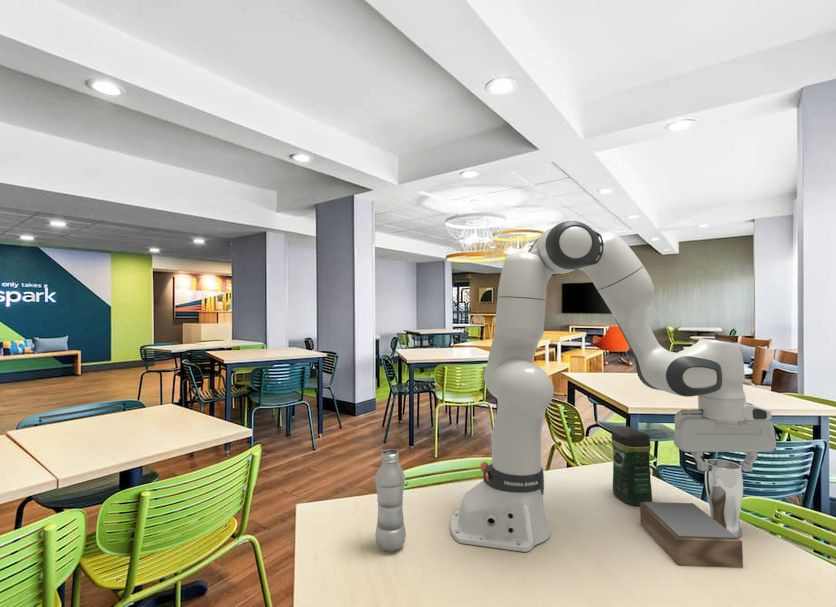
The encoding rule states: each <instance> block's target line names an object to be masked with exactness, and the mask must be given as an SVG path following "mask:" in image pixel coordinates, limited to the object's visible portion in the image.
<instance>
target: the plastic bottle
mask: <svg viewBox="0 0 836 607" xmlns="http://www.w3.org/2000/svg"><path fill="white" fill-rule="evenodd" d="M399 461H400V459H399V451H398V450H396V449H385V450H382V451H381V458H380V462H381V463H382V464H381V465H380V466H379V468H378V470H377V471H376V474H375V478H374V479H375V480H374V481H375V488H376V495H377V509H378V510H377V522H376V529H375V536H374V537H375V541H376V545H377V547H378V548H379V549H380V550H381V551H384V552H394V551H398V550H400V549H402V547H403V545H404V544H405V542H406V537H407V536H406V535H407V533H406V532H407V531H406V526H405V522H404V520H405V519H404V509H403V507H404V506H403V504H404V503H403V501H404V491H405V490H404V489H405V481H406V479H405V478H406V475H405V473H404V470H403V469H402V467H401V465H400V464H399Z"/></svg>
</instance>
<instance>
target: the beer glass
mask: <svg viewBox="0 0 836 607" xmlns="http://www.w3.org/2000/svg"><path fill="white" fill-rule="evenodd" d="M705 463H707V464H708V471H704V485H705V486H704V487H705V491H706V495H707V501H708V504H709V505H708V506H709V511H710V512H709V513H710V515H709V516H710V517H711V518H713V519H714V520H715V521H717V522H718V523H719V524H721V525H722V526H723V527H724V528H726V529H727V530H728V531H730V532H731V533H732V534H734V535H735V536H736V537H737V538H739V539H740V538H741V537H742V536H743V531H742V527H741V522H740V513H741V506H742V504H743V503H742V501H743V496H744V481H743V480H744V479H743V473H742V471H743V470H742V469H741V464H740V463H736V462H733V461H730V460H725V459H719V458H710V459H706V460H705Z"/></svg>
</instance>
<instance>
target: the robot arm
mask: <svg viewBox="0 0 836 607" xmlns="http://www.w3.org/2000/svg"><path fill="white" fill-rule="evenodd" d="M575 270H580V271H582V272H583V273H585V274H586V275H587V276H588V277H589V278H590V281H591V282H592V283H593V285H594V287H595V289H596V290H597V292H598V294H599V295H600V296H601V298H602V300H603V301H604V303H605V304H606V306H607V308H608V309H609V311H610V312H611V314H612V316H613V318H614V321H615V322H616V324H617V326H618V328H619V330H620V332H621V334H622V335H623V337H624V340H625V341H626V342H627V345H628V347H629V349H630V350H631V353H632V355H633V358H634V362H635V369H636V374H637V377H638V378H639V380H640V381H641V382H642V384H643V385H645V386H646V387H647V388H650V389H653V390H656V391H663V392H665V393H669V394H673V395H676V396H679V397H688V398H689V397H697V401H698V402H697V404H698V408H697V409H696V408H693V409H680V410H679V411H677V412H676V413H675V415H674V416H673V418H674V419H673V420H674V421H673V422H674V431H673V432H674V433H673V444H674V446H675V447H676V448H677V449H679V450H680V451H682V452H683V453H684V452H685V453H690V454H691V456H692V457H693V459H694V461H696V468H697V470H699V471H700V472H705V471H708V464H707V463H706V461H704V460H703V459H702V457H704V453H744V454H746V456H745V458H744V459H743V460H742V461H739V465H740V466H741V471H744V472H753V471H754V470H753V468H754V467H753V464H754V463H755V461H756V460H757V458H758V457H759V454H758V452H761V453H762V452H763V453H766V452H767V453H771V452H774V450H775V448H776V447H777V445H776V444H777V443H776V442H777V440H776V439H777V438H776V431H775V428H774V425H773V423H772V422H771V421H770V420H771V419H772V417H773V416H772V415H773V414H772V411H771V410H769V409H766V408H764V407H762V406H758V405H754V404H753V403H748V402H747V398H746V394H745V391H744V381H745V365H744V364H745V363H744V358H743V357H744V356H743V352H742V350H741V347H740V345H739V344H738V343H737V342H735V341H732V340H729V339H724V338H714V337H701V338H699V339H698V341H697V342H696V343H694V344H692V345H691V346H689V347H687V348H686V349H683V350H681V351H678V352H673V351H670V350H668V349H666V348H664V347H663V346H662V345H660V343H659V342H658V339H657V338H656V336H655V334H654V332H653V331H652V329H651V326H650V325H649V323H648V321H647V319H646V318H647V317H646V314H645V312H646V308H648V307H649V305H650V304H651V302H652V300H653V298H654V296H655V290H656V289H655V287H654V284H653V280H652V278H651V276H650V275H649V272H648V271H647V269H646V268H645V266H644V264H643V263H642V262H641V260H640V259H639V257H638V256H637V255H636V253H635V252H634V250H632V249H631V247H630V246H629V245H628V244H627V243H626V241H625V240H623V239H622V238H621V237H620V235H618V234H616V233H614V232H603V233H599V232H597V231H595V230H593V229H592V228H591V227H590V226H589V225H587V224H586V223H583V222H582V221H576V220H567V221H562V222H560V223H558V224H556V225H555V226H553V227H551V228H548V229H547V230H545V231H544V232H543V233H542V234H541V235H540V236H539V237H538V238H537V239H536V240H534V242H533V243H532V245H531V247H530V248H529V250H528V251H519V252H514V253H511V254H510V255H509V256H508V257H507V258H506V259H505V261H504V262H503V265H502V269H501V273H500V278H499V281H498V290H497V300H496V301H497V302H496V312H495V325H494V332H493V337H492V341H491V346H490V349H489V354H488V358H487V359H488V360H487V364H486V366H485V368H484V371H483V379H484V384H485V387H486V388H487V391H488V392H489V393H490V395H491V396H492V397H493V398H494V397H495V398H496V401H497V408H496V410H497V411H496V416H495V421H494V426H493V427H492V430H491V463H490V464H489V463H488V462H487V461H482V462H481V463H480V465H479V466H480V471H481V472H482V473H483V475H482V476H483V480H482V481H480V482H479V483H478V484H476V485H475V486H474V487H472V488H471V489H469V490H467V491H466V492H465V493H464V495H463V497H462V499H461V502H460V505H459V509H457V510H455V511H454V513H452V515H451V517H450V522H449V529H450V533H451V537H452V538H453V539H454V540H455V541H456V542H457V543H460V544H464V545H471V546H477V547H478V546H479V547H486V548H493V549H502V550H507V551H508V550H509V551H515V552H516V551H517V552H523V553H527V552H529V551H531V550H532V549H533V548H534V547H535V546H537V545H539V544H542V543H543V542H545V541H546V540H548V539H549V537H550V536H551V530H550V527H549V523H548V520H547V515H546V511H545V510H546V509H545V504H544V496H543V495H544V490H545V474H544V468H542V430H543V424H544V419H545V415H546V411H547V408H548V407H549V405H550V404H551V402H552V400H553V398H554V394H555V392H554V391H555V390H554V388H555V387H554V384H553V381H552V379H551V377H550V375H549V374H548V373H547V372H546V371H545V370H544V369H543V368H542V367H541V366H539V365H538V364H536V363H534V359H535V355H536V351H537V348H538V345H539V344H540V342H541V339H542V338H543V336H544V334H545V333H544V330H545V318H546V317H545V316H546V306H547V305H546V303H547V287H548V283H549V281H550V279H551V277H555V276H558V275H562V274H563V275H565V274H569V273H571V272H574V271H575Z"/></svg>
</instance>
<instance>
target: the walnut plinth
mask: <svg viewBox="0 0 836 607" xmlns="http://www.w3.org/2000/svg"><path fill="white" fill-rule="evenodd" d="M639 511H640V512H639V513H640V515H639V516H640V519H639V520H640V526H641V527H642V528H643V529H644V530H645V531H646V532H647V533H648V534H649V535H650V537H651V538H653V540H654V541H655V542H656V543H657V544H658V546H660V548H661V549H663V550H664V552H666V554H667V555H669V557H670V558H671V559H672V561H673V562H674V563H675V564H677V566H689V567H690V566H691V567H692V566H693V567H718V568H720V567H722V568H744V559H743V557H744V556H743V555H744V554H743V552H744V551H743V540H741V539H740V537H739V538H737V537H736V536H735V535H734V534H732V533H731V532H730V531H728V530H727V529H726V528H724V527H723V526H722V525H721V524H719V523H718V522H717V521H715V520H714V519H713V518H711V517H710V515H709V514H708V513H706V512H705V511H703V510H702V509H701V508H700V507H698V506H697V505H696V504H694V503H693V502H668V501H667V502H658V501H657V502H656V501H652V502H643V503H640V505H639Z"/></svg>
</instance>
